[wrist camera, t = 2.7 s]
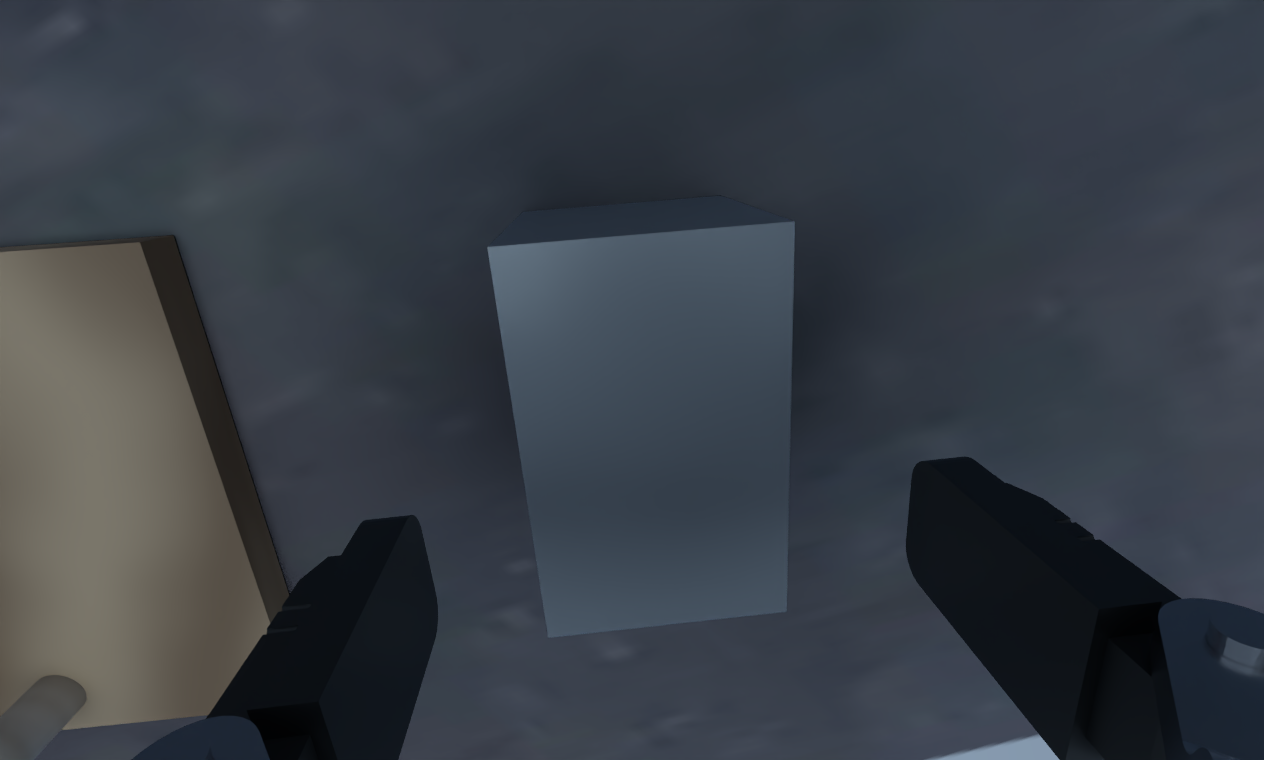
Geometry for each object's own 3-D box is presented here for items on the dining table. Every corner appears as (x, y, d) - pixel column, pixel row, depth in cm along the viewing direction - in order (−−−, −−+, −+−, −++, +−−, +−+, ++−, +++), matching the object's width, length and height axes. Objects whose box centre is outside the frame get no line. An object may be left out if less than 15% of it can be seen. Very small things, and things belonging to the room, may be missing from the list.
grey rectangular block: (558, 488, 18) (545, 638, 13) (521, 211, 15) (483, 247, 10) (727, 470, 18) (789, 611, 13) (721, 194, 16) (797, 220, 10)
